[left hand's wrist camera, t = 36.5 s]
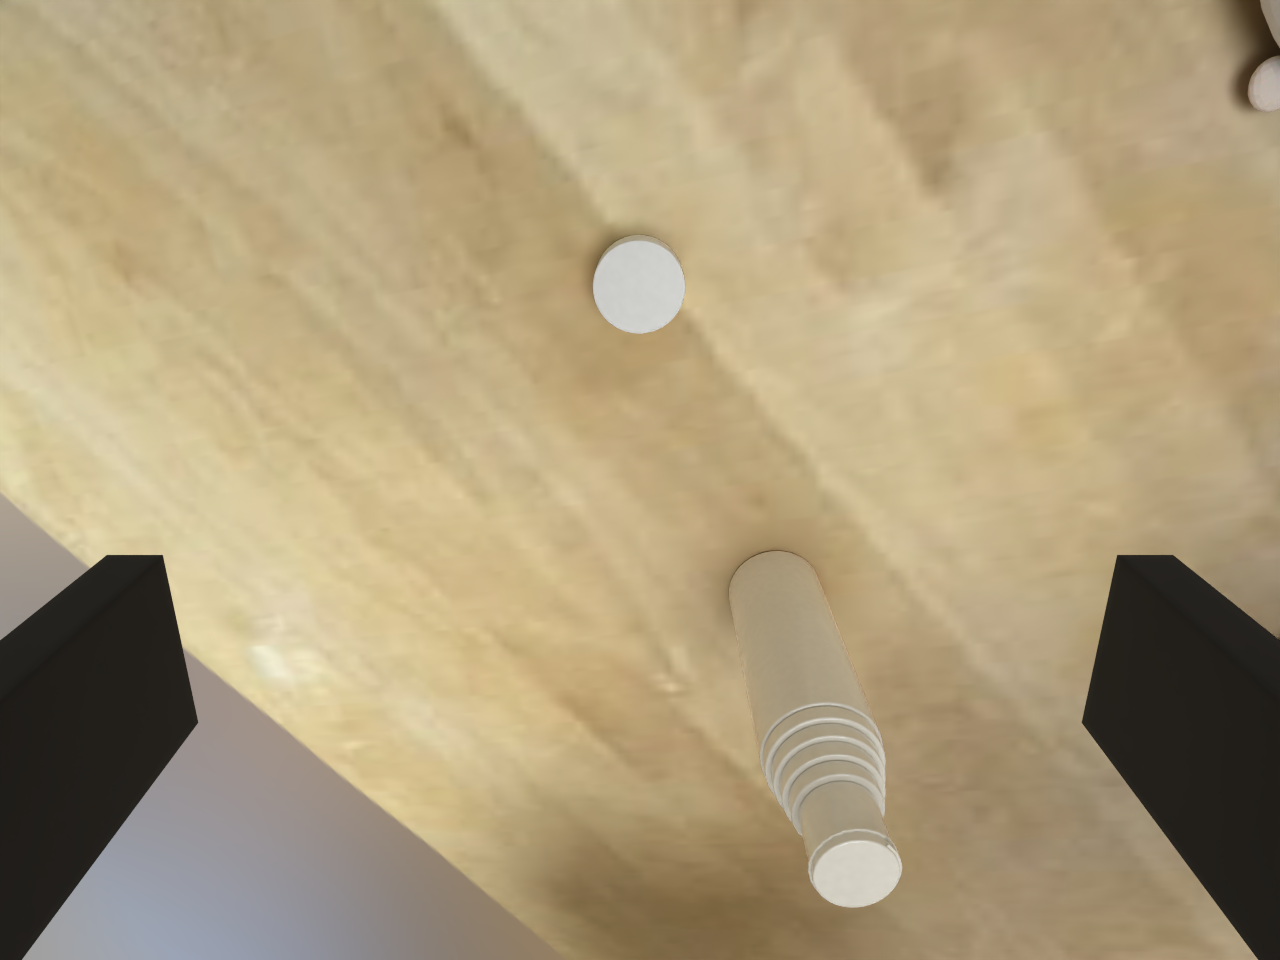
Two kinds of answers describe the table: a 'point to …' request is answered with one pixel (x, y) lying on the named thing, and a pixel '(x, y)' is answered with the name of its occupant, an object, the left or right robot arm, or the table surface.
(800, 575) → the bottle
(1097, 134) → the table surface
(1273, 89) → the toy
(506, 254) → the table surface
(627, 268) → the cap
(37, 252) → the table surface
